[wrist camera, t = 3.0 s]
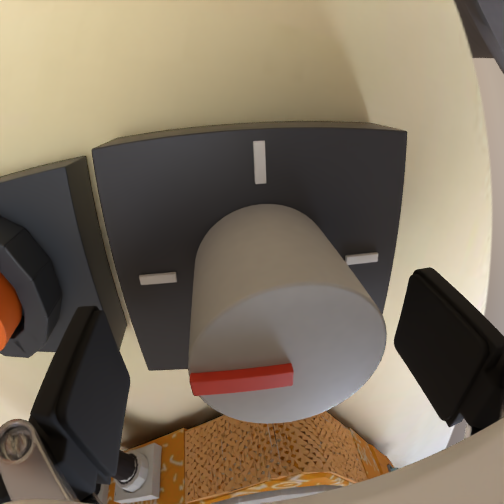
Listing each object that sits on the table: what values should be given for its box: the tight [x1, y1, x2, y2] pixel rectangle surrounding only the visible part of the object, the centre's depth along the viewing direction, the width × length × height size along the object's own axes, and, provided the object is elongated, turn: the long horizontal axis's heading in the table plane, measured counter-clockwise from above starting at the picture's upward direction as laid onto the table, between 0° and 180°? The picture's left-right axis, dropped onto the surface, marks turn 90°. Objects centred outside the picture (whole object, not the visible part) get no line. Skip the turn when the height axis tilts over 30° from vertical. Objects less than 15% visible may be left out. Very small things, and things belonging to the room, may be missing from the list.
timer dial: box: [188, 204, 386, 424], centre depth 9 cm, size 5×5×5 cm
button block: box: [0, 156, 127, 358], centre depth 12 cm, size 10×9×4 cm
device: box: [95, 411, 398, 504], centre depth 20 cm, size 23×8×30 cm
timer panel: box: [92, 121, 407, 370], centre depth 13 cm, size 11×10×3 cm
